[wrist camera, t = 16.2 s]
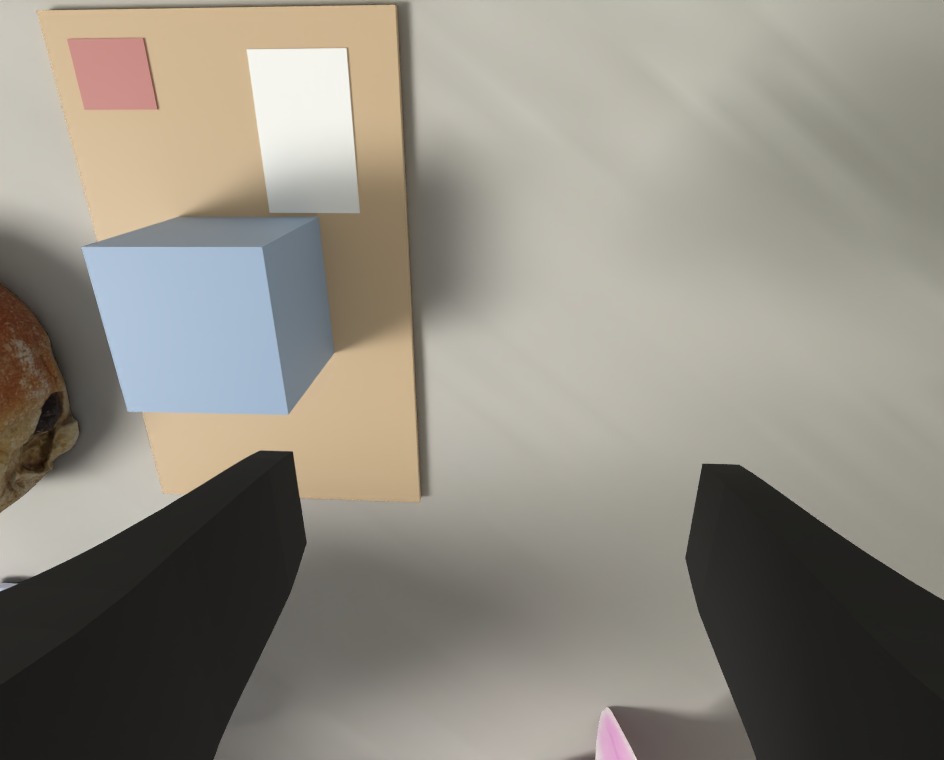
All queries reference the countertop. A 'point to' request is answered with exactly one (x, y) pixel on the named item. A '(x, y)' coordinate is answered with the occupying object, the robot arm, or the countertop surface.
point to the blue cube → (214, 313)
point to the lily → (611, 739)
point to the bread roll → (29, 402)
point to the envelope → (264, 204)
